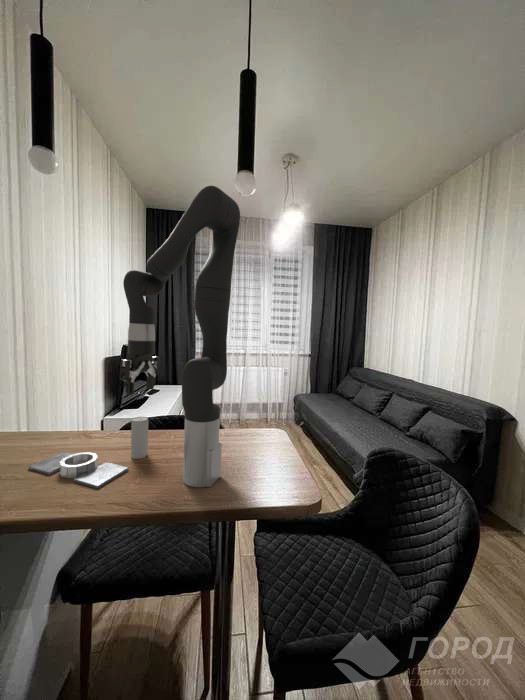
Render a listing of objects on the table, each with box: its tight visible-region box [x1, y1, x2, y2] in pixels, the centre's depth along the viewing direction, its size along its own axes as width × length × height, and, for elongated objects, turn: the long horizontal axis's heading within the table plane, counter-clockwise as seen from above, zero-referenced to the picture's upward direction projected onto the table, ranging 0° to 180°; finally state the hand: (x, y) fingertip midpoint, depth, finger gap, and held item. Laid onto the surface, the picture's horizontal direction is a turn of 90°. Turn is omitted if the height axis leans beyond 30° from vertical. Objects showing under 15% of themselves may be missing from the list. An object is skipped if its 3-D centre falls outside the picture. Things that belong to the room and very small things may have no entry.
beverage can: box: [130, 416, 149, 460], centre depth 87 cm, size 5×5×12 cm
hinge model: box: [28, 451, 129, 490], centre depth 78 cm, size 25×10×3 cm, turn 72°
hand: (140, 391), depth 86 cm, fingers open, 8 cm apart
